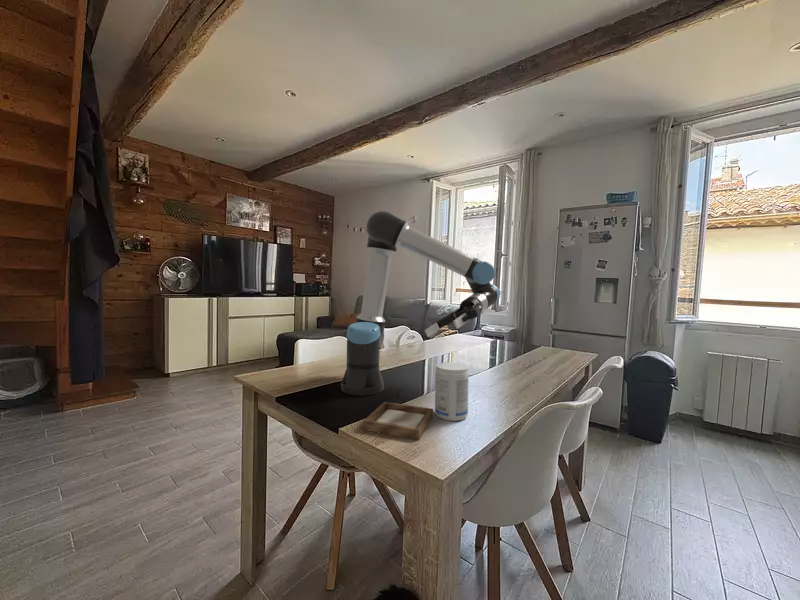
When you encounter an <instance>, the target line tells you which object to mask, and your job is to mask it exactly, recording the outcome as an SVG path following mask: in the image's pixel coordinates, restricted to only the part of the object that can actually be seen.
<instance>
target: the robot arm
mask: <svg viewBox="0 0 800 600" xmlns="http://www.w3.org/2000/svg"><path fill="white" fill-rule="evenodd" d="M366 233H367V235H368V238H367V244H366V250H367V251H368V252H369V255H368V256H369V258H368V263H367V271H366V278H365V284H364V289H363V290H364V291H363V297H362V304H361V311H360V314H358V315H357V316H356V318H355V323H354V322H353V323H351V324H349V325H348V327H347V331H346V369H345V371H344V373H343V377H342V381H341V383H340V389H341V391H342V392H343V393H344V394H347V395H351V396H358V397H359V396H372V395H377V394H380V393H381V392H383V391H384V379H383V376H382V373H381V370H380V350H381V349H380V348H381V346H382V344H383V343H384V340H385V328H386V327H385V325H386V320H385V318H384V317H383V315H384V314H383V313H384V307H385V303H386V302H385V301H386V295H387V288H388V282H389V281H388V280H389V276H390V269H391V261H392V257H393V256H394V255H396V253H397V248H398V247H400V248H403V249H405V250H406V251H410V252H411V253H413V254H416V255H417V256H420V257H422V258H424V259H427V260H428V261H430V262H433V263H435V264H437V265H438V266H441V267H443V268H444V269H447V270H450V271H451V272H453V273H456V274H458V275H460V276H462V277H464V278H465V280H466V282H467V284H468V286H469V288H470V290H471V291H472V294H471V295H470V296H468V297H467V298H465V299H463V300H462V301H461V303H460V304H459V308H457V309H456V310H455V311H452V312H450V313H449V314H447V315H445V316H444V317H442V318H440V319H438V320H437V321H434V322H433V323H431V325H430V326H429V327H427V328H426V329H424V333H425V335H426V337H427V338H429V337H432V336H433V335H434V334H436V333H438V332H440V331H441V329H442V328H444V327H446V326H447V325H450V324H451V323H453V324H454V326H455V328H456V330H457V329H460V328H461V327H462V326H464V325H466V323H467V322H469V321H470V320H473V319H476V318H478V317H479V316H480V315H483V314H484V311H486V310H488V308H490V307H492V306H493V305H495V304H496V303H497V302H498V300H499V299H500V297H501V291H500V289H499V287H497V286H496V285H494V284H491V282H492V281H493V279H494V278H495V275H496V270H495V267H494V265H493V264H491V263H490V262H488V261H482V260H480V259H479V258H477V257H473V256H472V255H469V254H467V253H466V252H464V251H461V250H460V249H457V248H455V247H453V246H450V245H449V244H447V243H444V242H442V241H440V240H438V239H436V238H434V237H432V236H430V235H428V234H426V233H423V232H422V231H419V230H418V229H415V228H413V227H411V226H409V223H408V221H405V220H403V219H401V218H399V217H398V216H396V215H394V214H392V213H391V212H389V211H385V210H380V211H377V212H374V213H372V214H371V215H370V216H369V218H368V219H367V222H366Z"/></svg>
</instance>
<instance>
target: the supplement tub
mask: <svg viewBox="0 0 800 600" xmlns="http://www.w3.org/2000/svg"><path fill="white" fill-rule="evenodd" d="M435 365H436V366H435V378H434V379H435V383H434V384H435V385H434V413H435V415H436V416H437V418H440V419H441V420H445V421H448V422H449V421H450V422H456V421H462V420H465V419H466V418H467V417H468V414H469V380H470V379H469V373H470V372H469V366H468V365H466V364H464V363H460V362H453V361H451V362H439V363H437V364H435Z"/></svg>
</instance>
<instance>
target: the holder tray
mask: <svg viewBox="0 0 800 600" xmlns="http://www.w3.org/2000/svg"><path fill="white" fill-rule="evenodd" d="M433 418H434V408H430V407H422V406H417V405H416V406H415V405H410V404H401V403H396V402H388V401H384V402H382V403H381V404H380V405H379V406H378V407H377V408H376V409H375V410H373V411H372V412H371V413H370V414H369V415H368V416H366V418H364V420H362V421H363V422H362V430H363V429H365V430H370V431H374V432H373V433H376V432H379V433H378V434H381V433H384V434H383V435H387V434H389V435H388V436H393V435H394V436H395V437H398V436H400V438H404V439H411V440H414V441H415V440H416V441H420V440H421V438H422V437H423V435H424V433H425V432H426V430H427V428H428V426H429V425H430V423H432V422H431V421H432V420H433ZM365 430H364V431H365ZM370 431H369V432H370ZM394 436H393V437H394Z"/></svg>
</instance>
